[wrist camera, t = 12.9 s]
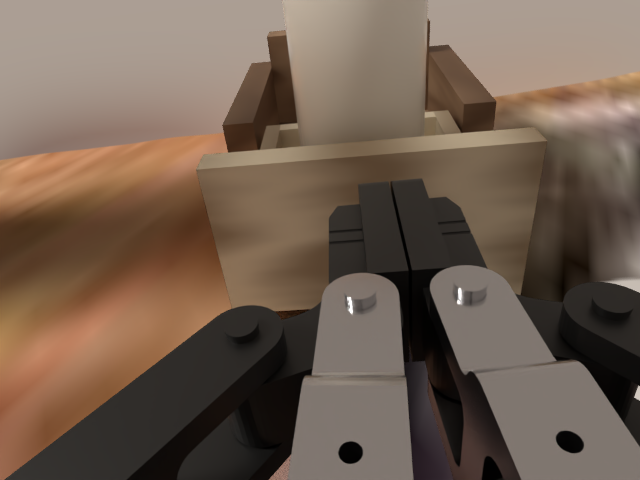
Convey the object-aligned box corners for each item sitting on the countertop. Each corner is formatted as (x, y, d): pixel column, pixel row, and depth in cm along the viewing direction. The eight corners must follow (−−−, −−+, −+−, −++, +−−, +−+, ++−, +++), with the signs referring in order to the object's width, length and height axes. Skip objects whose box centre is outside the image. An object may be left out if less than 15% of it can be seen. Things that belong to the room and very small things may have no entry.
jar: (300, 241, 21) (233, -242, 13) (306, 179, 26) (259, -203, 18) (437, 232, 21) (461, -272, 12) (417, 170, 26) (424, -224, 17)
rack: (240, 207, 29) (214, 86, 25) (262, 129, 38) (246, 34, 35) (486, 189, 28) (500, 60, 24) (444, 113, 38) (449, 14, 34)
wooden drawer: (233, 313, 20) (196, 169, 17) (263, 185, 30) (242, 74, 26) (520, 296, 20) (547, 141, 16) (458, 170, 29) (466, 53, 25)
